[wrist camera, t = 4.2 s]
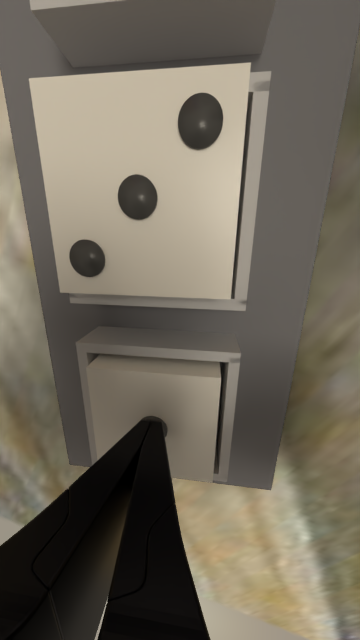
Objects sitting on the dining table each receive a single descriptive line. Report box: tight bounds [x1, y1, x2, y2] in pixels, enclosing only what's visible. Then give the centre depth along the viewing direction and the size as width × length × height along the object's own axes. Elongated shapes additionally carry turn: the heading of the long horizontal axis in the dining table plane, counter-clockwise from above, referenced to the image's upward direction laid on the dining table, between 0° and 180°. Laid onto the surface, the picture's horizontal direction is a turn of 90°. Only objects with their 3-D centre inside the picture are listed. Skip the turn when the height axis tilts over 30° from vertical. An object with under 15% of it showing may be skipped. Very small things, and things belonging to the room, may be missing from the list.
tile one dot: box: [86, 353, 221, 483], centre depth 10 cm, size 5×5×2 cm
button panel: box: [0, 0, 360, 490], centre depth 9 cm, size 12×28×4 cm, turn 179°
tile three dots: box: [29, 63, 251, 299], centre depth 7 cm, size 5×5×2 cm
